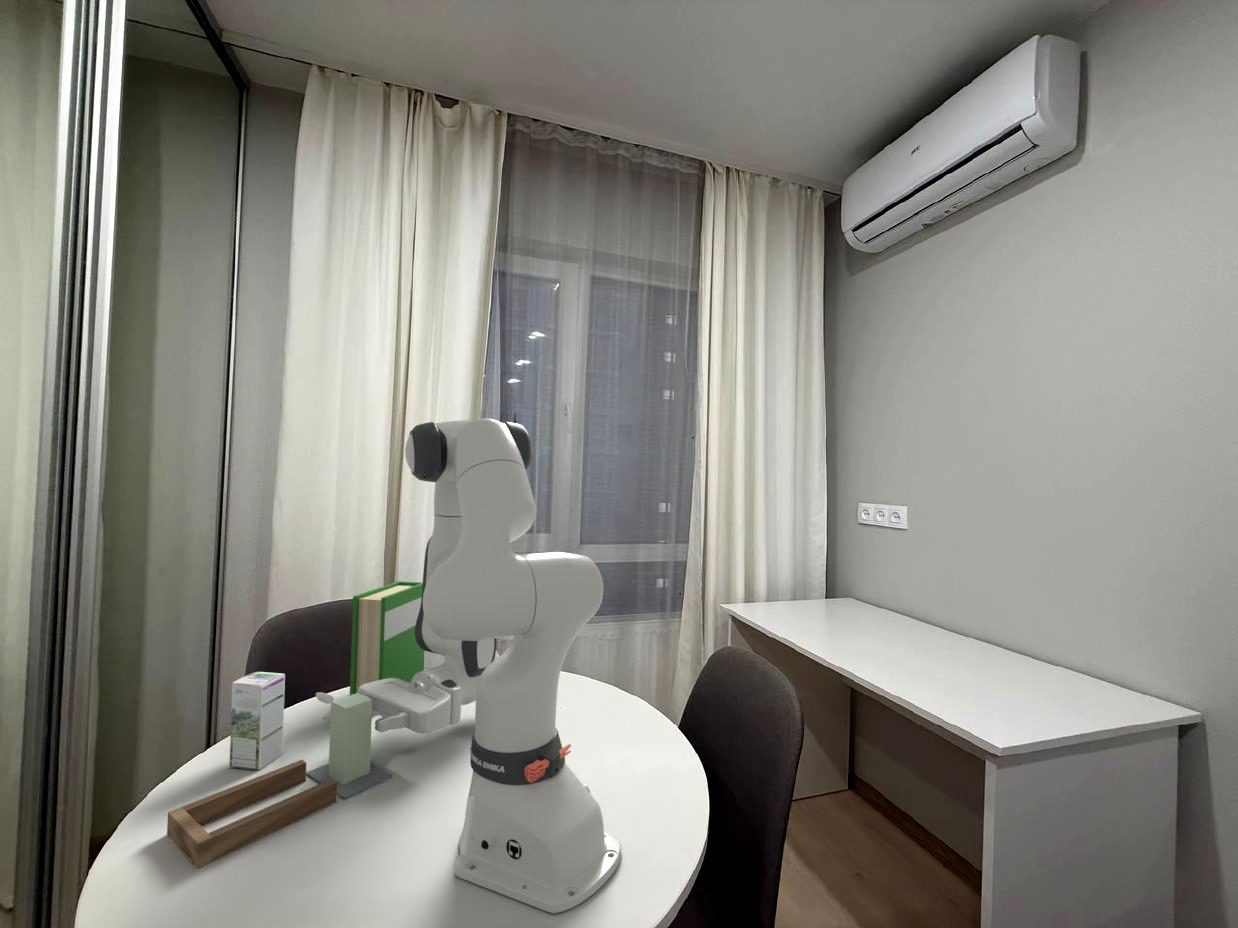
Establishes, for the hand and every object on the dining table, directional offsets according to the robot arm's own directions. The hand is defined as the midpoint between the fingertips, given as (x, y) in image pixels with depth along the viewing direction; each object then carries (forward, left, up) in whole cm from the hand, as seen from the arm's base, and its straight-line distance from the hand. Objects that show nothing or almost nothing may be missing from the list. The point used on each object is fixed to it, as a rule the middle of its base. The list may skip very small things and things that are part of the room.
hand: (361, 718), depth 91 cm
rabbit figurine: (+23, -7, -9) cm, 26 cm away
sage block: (0, +2, -8) cm, 8 cm away
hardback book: (+25, -21, -9) cm, 34 cm away
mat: (0, +2, -9) cm, 9 cm away
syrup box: (+17, +9, -9) cm, 21 cm away
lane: (0, +15, -9) cm, 17 cm away
